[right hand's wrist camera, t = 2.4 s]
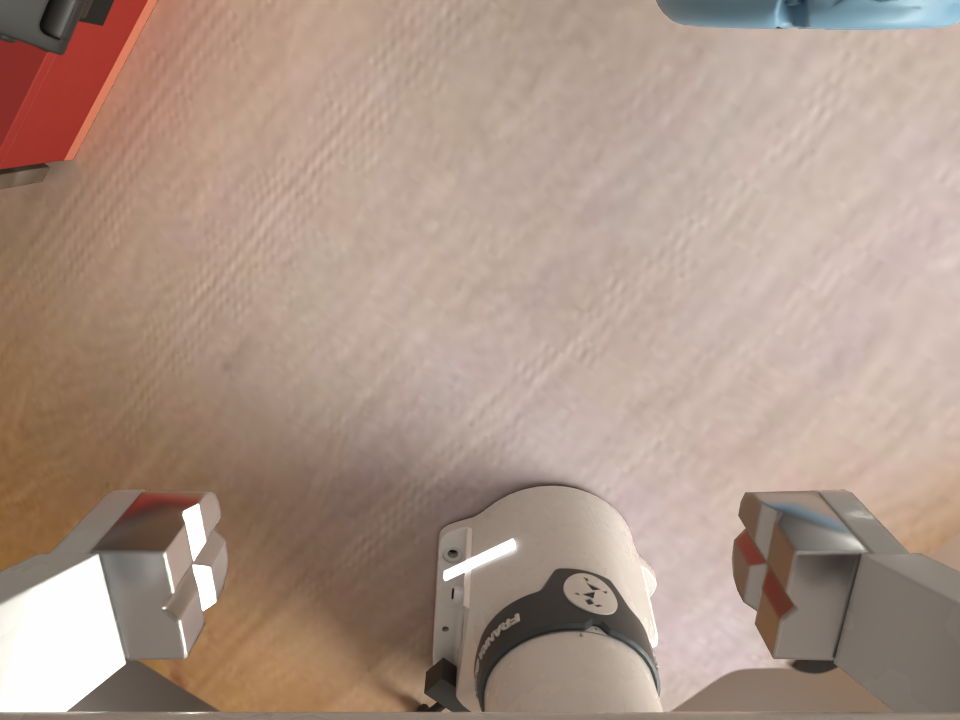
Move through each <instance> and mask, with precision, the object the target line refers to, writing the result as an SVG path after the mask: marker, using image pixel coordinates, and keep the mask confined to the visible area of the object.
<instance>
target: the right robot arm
mask: <svg viewBox="0 0 960 720" xmlns="http://www.w3.org/2000/svg"><path fill="white" fill-rule="evenodd" d="M221 516H222V515H221V510H220V505H219V500H218V497H217V496H216V495H215V494H214V493H213V492H212V491H172V490H148V491H147V490H116V491H111V492H108V493H107V494H106V495H105V497H104V498H103V499H102V500H101V501H100V502H99V503H98V504H97V505H96V506H95V507H94V508H93V509H92V510H91V511H90V512H89V513H88V514H87V515H86V516H85V517H84V519H83V520H82V521H81V522H80V523H79V524H78V525H77V526H76V527H75V528H74V529H73V530H72V531H71V532H70V533H69V534H68V535H67V536H66V537H65V538H64V539H63V540H62V542H61V543H60V544H59V545H58V546H57V547H56V548H55V549H54V550H53V551H52V552H51V553H45V554H37V555H35V556H33V557H31V558H29V559H26V560H24V561H22V562H20V563H18V564H16V565H13V566H11V567H9V568H7V569H5V570H3V571H1V572H0V720H960V572H959V571H957V570H955V569H953V568H951V567H949V566H946V565H944V564H942V563H940V562H938V561H936V560H933V559H931V558H929V557H927V556H925V555H923V554H915V553H909V552H908V551H907V550H906V549H905V548H904V547H903V546H902V545H901V544H900V543H899V541H898V540H897V539H896V538H895V537H894V536H893V535H892V534H891V533H890V532H889V531H888V530H887V529H886V528H885V527H884V526H883V525H882V524H881V523H880V522H879V521H878V519H877V518H876V517H875V516H874V515H873V514H872V513H871V512H870V511H869V510H868V509H867V508H866V507H865V506H864V505H863V504H862V503H861V502H860V501H859V500H858V498H857V497H856V496H855V495H854V494H853V493H851V492H849V491H846V490H844V489H840V490H813V491H783V492H745V494H744V496H743V498H742V500H741V503H740V509H739V514H738V516H739V518H740V519H741V521H742V523H743V524H744V526H745V528H746V529H745V530H744V531H743V532H742V533H741V534H740V535H739V536H738V537H737V538H736V539H735V540H734V545H733V553H732V566H733V577H734V580H735V584H736V587H737V590H738V592H739V594H740V596H741V598H742V600H743V602H744V603H746V604H747V605H749V606H750V607H752V608H753V609H755V610H756V611H757V615H756V621H755V625H756V627H757V629H758V631H759V633H760V634H761V636H762V638H763V640H764V642H765V644H766V646H767V648H768V649H769V651H770V653H771V655H772V657H773V659H800V660H834V664H835V665H837V666H838V667H839V668H840V669H842V670H843V671H844V672H845V673H847V674H848V675H849V676H850V677H852V678H853V679H854V680H855V681H857V682H858V683H859V684H860V685H862V686H863V687H864V688H865V689H867V690H868V691H869V692H870V693H871V694H873V695H874V696H875V697H876V698H878V699H879V700H880V701H881V702H883V703H884V704H885V705H886V706H888V707H889V708H890V709H891V710H893V711H894V712H663V709H662V706H661V703H660V700H659V695H660V680H659V675H658V666H657V661H656V657H655V653H654V650H653V647H655V646H656V645H657V642H658V635H657V630H656V625H655V620H654V616H653V611H652V606H651V602H650V596H651V595H652V593H653V592H654V591H655V589H656V585H657V583H656V578H655V574H654V571H653V570H652V568H651V567H650V566H649V565H648V564H647V563H646V562H645V561H644V560H643V559H642V558H641V557H640V556H639V555H638V553H637V551H636V548H635V545H634V542H633V538H632V535H631V533H630V530H629V528H628V526H627V524H626V523H625V521H624V519H623V518H622V517H621V515H620V514H619V513H618V512H617V511H616V510H615V509H614V508H613V507H612V506H611V505H609V504H608V503H607V502H605V501H604V500H602V499H601V498H599V497H597V496H595V495H593V494H591V493H588V492H586V491H583V490H579V489H576V488H571V487H565V486H539V487H532V488H527V489H523V490H520V491H517V492H514V493H512V494H509V495H507V496H505V497H503V498H501V499H500V500H498V501H496V502H495V503H493V504H492V505H491V506H489V507H488V508H487V509H485V510H484V511H483V512H481V513H480V514H478V515H476V516H475V517H472V518H468V519H465V520H461V521H457V522H454V523H452V524H449V525H447V526H445V527H444V528H443V529H442V530H441V531H440V534H439V542H438V560H437V578H436V596H435V614H434V632H433V652H432V657H433V667H432V668H430V669H429V670H428V671H427V672H426V679H425V690H424V693H425V694H426V695H428V696H429V697H431V698H432V699H434V700H435V701H437V703H435V704H434V705H433V706H431V707H430V708H429V707H428V706H427V704H422V705H421V706H420V707H419V708H418V710H417V712H66V711H68V710H69V709H70V708H71V707H73V706H74V705H75V704H76V703H78V702H79V701H80V700H81V699H83V698H84V697H85V696H86V695H88V694H89V693H90V692H91V691H92V690H94V689H95V688H96V687H97V686H99V685H100V684H101V683H102V682H104V681H105V680H106V679H107V678H109V677H110V676H111V675H112V674H114V673H115V672H116V671H117V670H119V669H120V668H121V667H122V666H124V665H125V664H126V661H125V660H159V659H187V657H188V655H189V653H190V651H191V650H192V648H193V646H194V644H195V642H196V640H197V638H198V636H199V634H200V633H201V631H202V629H203V627H204V625H205V621H204V615H203V611H204V610H205V609H207V608H208V607H210V606H211V605H213V604H214V603H216V602H217V600H218V598H219V596H220V594H221V592H222V590H223V588H224V583H225V579H226V575H227V570H228V551H227V545H226V540H225V539H224V538H223V537H222V536H221V535H220V534H219V533H218V532H217V531H216V530H215V529H214V528H215V526H216V524H217V523H218V521H219V519H220V518H221ZM450 550H456V551H457V552H455V553H452V552H450ZM445 708H447V709H449V710H450V711H452V712H441V711H442V710H443V709H445Z"/></svg>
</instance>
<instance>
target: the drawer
mask: <svg viewBox="0 0 960 720" xmlns="http://www.w3.org/2000/svg"><path fill="white" fill-rule="evenodd" d="M49 168H50V167H49V166H48V165H46V164H45V163H40V164H33V165H26V166H19V167H13V168H6V169H0V189H5V188H10V187H15V186H21V185H26V184H31V183H37V182H42V181H43V180H44V178H45V176H46V174H47V172H48V170H49Z"/></svg>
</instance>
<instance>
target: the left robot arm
mask: <svg viewBox="0 0 960 720" xmlns="http://www.w3.org/2000/svg"><path fill="white" fill-rule="evenodd" d="M656 1H657V3H658V6H659V7H660V9H661V10H662V11H663V13H664V14H665V15H666V16H667V17H668V18H670V19H671V20H673V21H675V22H677V23H680V24H683V25H691V26H700V27H717V28H750V29H782V28H798V29H827V30H888V29H927V28H942V27H949V26H952V25H955V24H956V23H958V22H960V0H656ZM113 2H114V0H0V40H3V41H5V42H9V43H14V42H15V41H16V40H18V41H21V42H23V43H26V44H29V45H32V46H35V47H37V48H39V49H41V50H43V51H45V52H52V53H55V54H58V55H64V54H65V51H66V49H67V47H68V44H69V42H70V40H71V38H72V35H73V33H74V31H75V28H76V26H77V24H78V21H79V22H84V23H90V24H95V25H100V26H103V25H104V23H105V20H106V18H107V16H108V14H109V11H110V9H111V7H112V4H113Z"/></svg>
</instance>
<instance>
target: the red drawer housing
mask: <svg viewBox="0 0 960 720" xmlns="http://www.w3.org/2000/svg"><path fill="white" fill-rule="evenodd" d="M156 2H157V0H114V2H113V4H112V7H111V9H110V11H109V14H108V16H107V18H106V20H105V23H104V25H103V26H100V25H95V24H90V23H84V22H79V21H78V24H77V26H76V28H75V31H74V33H73V35H72V38H71V40H70V42H69V44H68V47H67V49H66V51H65V54H64V55H58V54H55V53H52V52H45V51H43V50H41V49H39V48H37V47H35V46H32V45H29V44H26V43H23V42H21V41H18V40H16V41H15V42H14V43H9V42H5V41H3V40H0V169H6V168H13V167H19V166H26V165H33V164H40V163H47V162H54V161H60V160H64V161H65V160H72V159H74V157H75V155H76V153H77V152H78V150H79V148H80V146H81V144H82V142H83V140H84V138H85V136H86V135H87V133H88V131H89V129H90V127H91V125H92V123H93V121H94V119H95V118H96V116H97V114H98V112H99V110H100V108H101V106H102V104H103V102H104V101H105V99H106V97H107V95H108V93H109V91H110V89H111V87H112V85H113V84H114V82H115V80H116V78H117V76H118V74H119V72H120V70H121V68H122V67H123V65H124V63H125V61H126V59H127V57H128V55H129V53H130V51H131V50H132V48H133V46H134V44H135V42H136V40H137V38H138V36H139V34H140V33H141V31H142V29H143V27H144V25H145V23H146V21H147V19H148V17H149V16H150V14H151V12H152V10H153V8H154V6H155V4H156Z"/></svg>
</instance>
